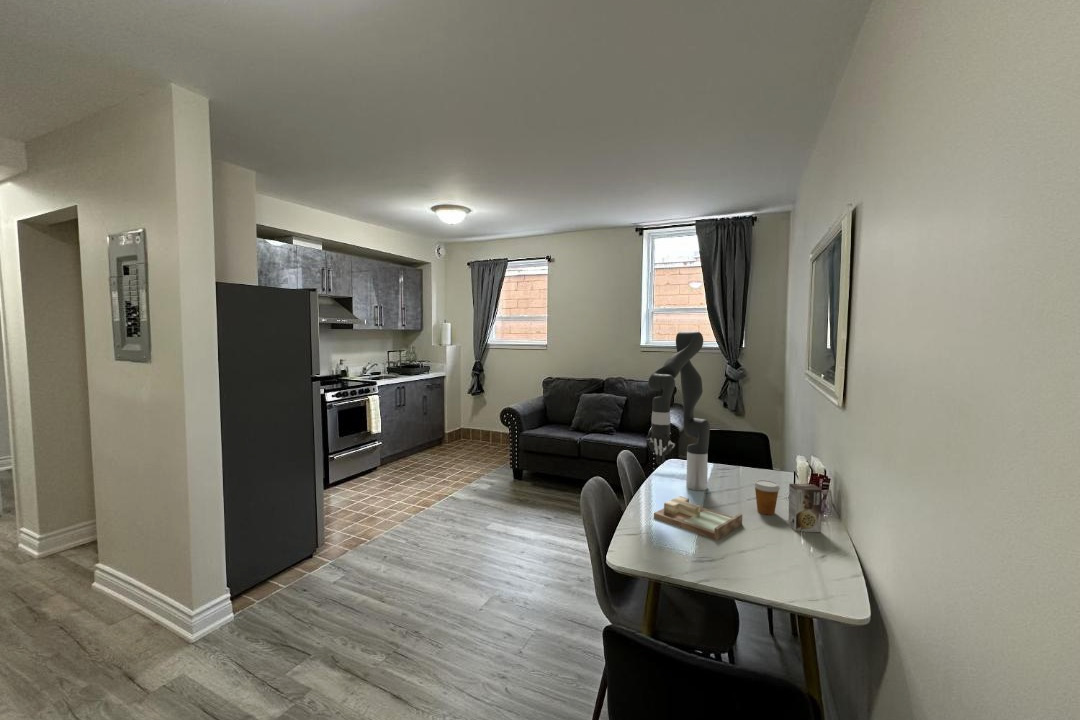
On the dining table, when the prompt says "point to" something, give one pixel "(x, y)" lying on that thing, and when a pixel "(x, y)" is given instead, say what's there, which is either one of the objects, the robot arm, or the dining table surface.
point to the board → (703, 522)
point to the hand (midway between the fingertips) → (660, 463)
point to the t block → (681, 507)
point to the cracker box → (805, 507)
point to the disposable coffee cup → (766, 496)
